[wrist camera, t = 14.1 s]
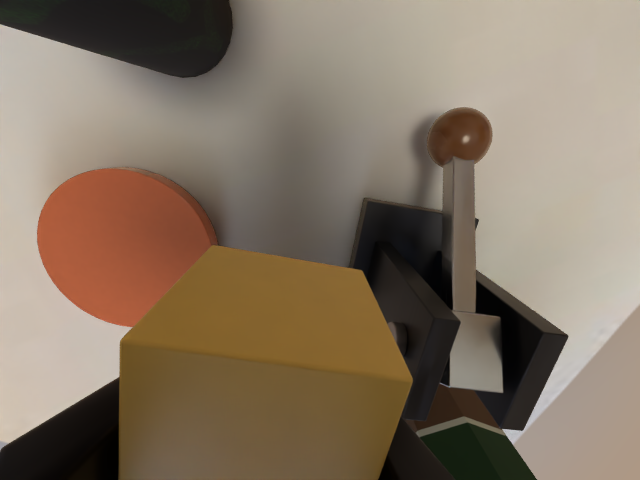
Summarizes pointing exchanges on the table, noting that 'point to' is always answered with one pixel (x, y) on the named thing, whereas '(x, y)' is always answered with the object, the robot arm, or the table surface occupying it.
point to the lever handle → (464, 251)
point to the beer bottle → (469, 438)
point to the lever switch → (447, 312)
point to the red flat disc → (120, 240)
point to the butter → (260, 375)
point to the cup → (132, 29)
